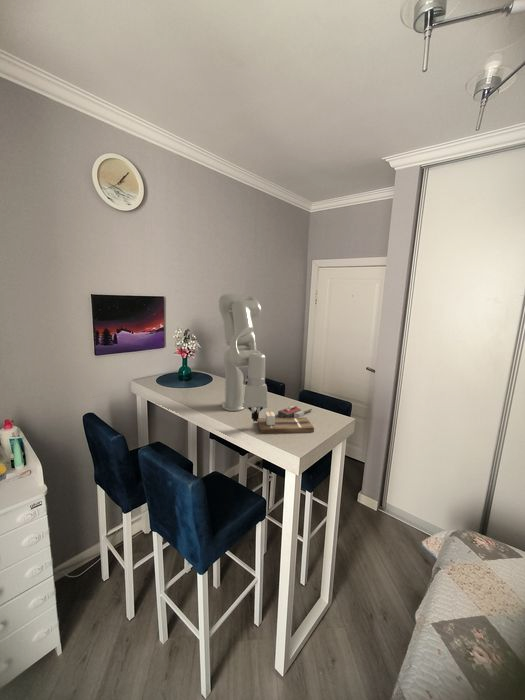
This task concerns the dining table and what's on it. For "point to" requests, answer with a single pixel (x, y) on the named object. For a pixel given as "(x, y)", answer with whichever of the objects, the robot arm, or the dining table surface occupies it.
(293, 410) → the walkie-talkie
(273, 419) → the fader
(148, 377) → the dining table surface
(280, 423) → the brown board with strips
